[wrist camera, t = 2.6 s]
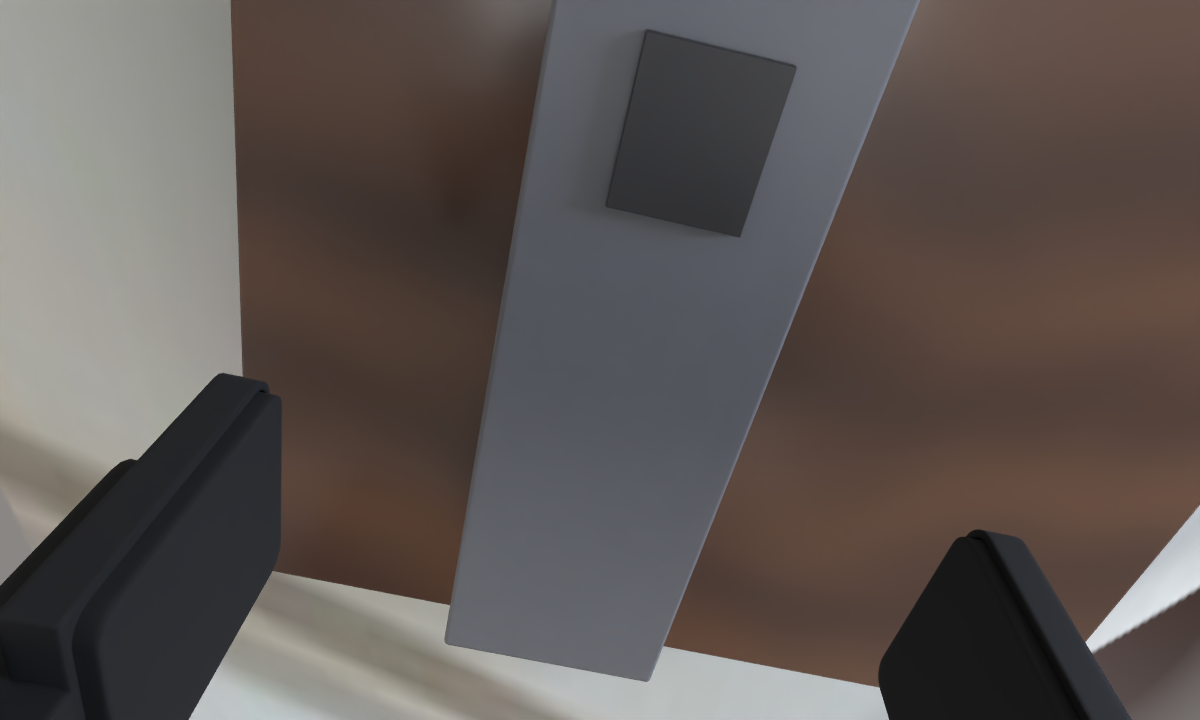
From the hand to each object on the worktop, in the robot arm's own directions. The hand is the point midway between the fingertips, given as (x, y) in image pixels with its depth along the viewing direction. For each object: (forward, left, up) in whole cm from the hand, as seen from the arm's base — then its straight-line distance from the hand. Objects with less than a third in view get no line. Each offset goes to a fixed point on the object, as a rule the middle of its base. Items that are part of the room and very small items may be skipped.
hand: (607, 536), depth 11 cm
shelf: (0, +3, -11) cm, 12 cm away
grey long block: (0, 0, -6) cm, 6 cm away
